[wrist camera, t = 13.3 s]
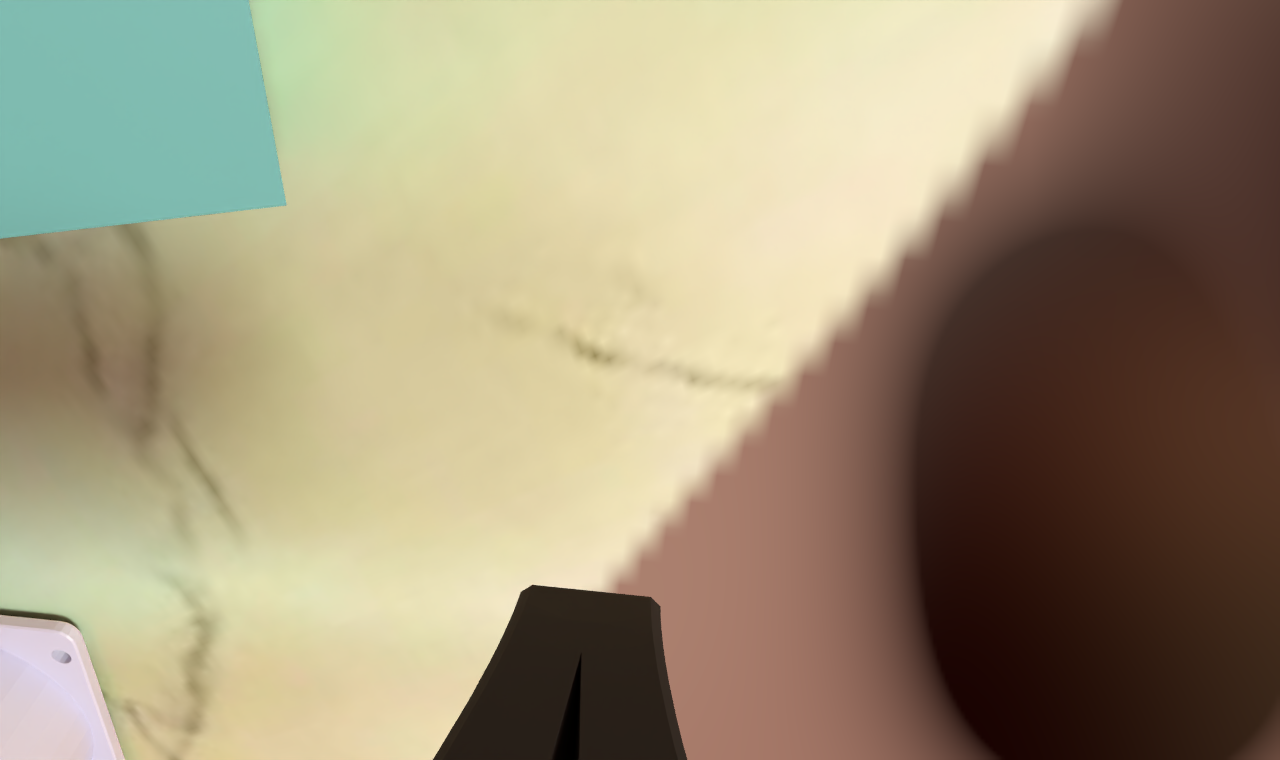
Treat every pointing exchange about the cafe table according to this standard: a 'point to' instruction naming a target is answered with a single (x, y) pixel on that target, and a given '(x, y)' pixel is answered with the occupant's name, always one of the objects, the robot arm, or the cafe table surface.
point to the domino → (130, 113)
